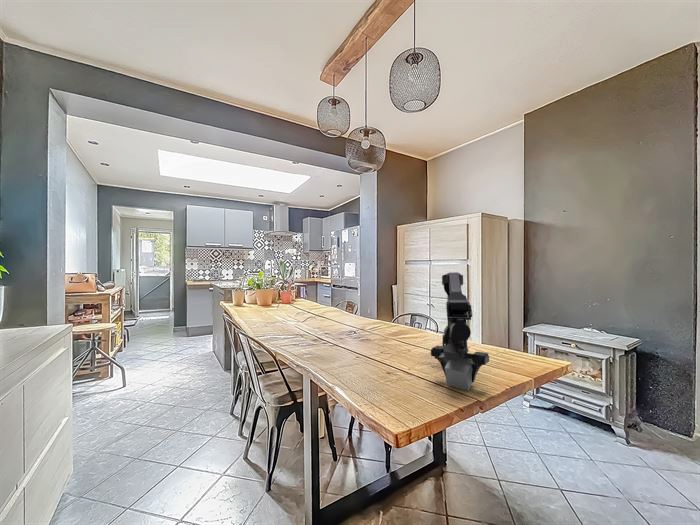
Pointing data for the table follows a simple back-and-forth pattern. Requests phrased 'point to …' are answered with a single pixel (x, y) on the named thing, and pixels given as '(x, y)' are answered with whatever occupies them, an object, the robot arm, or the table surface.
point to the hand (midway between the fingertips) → (459, 379)
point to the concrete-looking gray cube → (459, 373)
